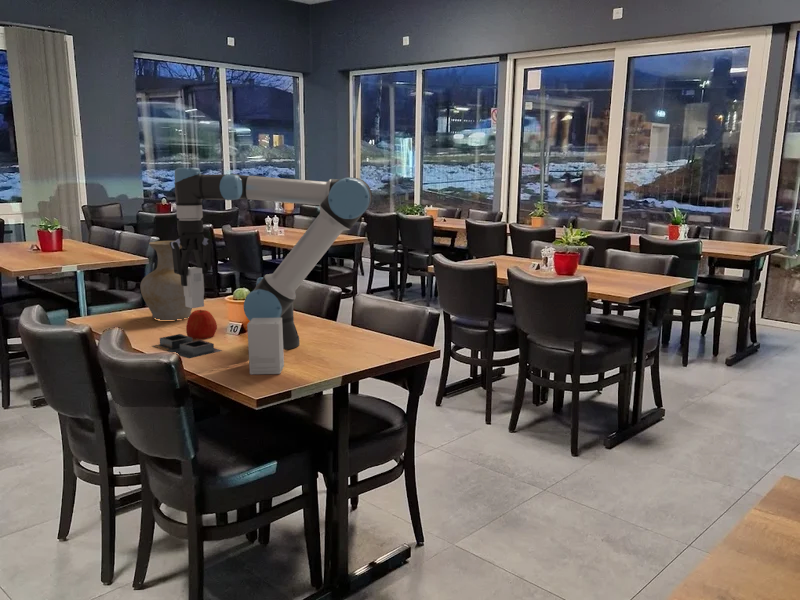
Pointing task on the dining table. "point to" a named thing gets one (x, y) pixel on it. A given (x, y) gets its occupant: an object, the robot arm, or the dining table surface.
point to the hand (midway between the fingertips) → (194, 294)
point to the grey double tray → (186, 346)
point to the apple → (201, 325)
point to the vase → (164, 287)
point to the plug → (195, 288)
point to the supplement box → (265, 345)
